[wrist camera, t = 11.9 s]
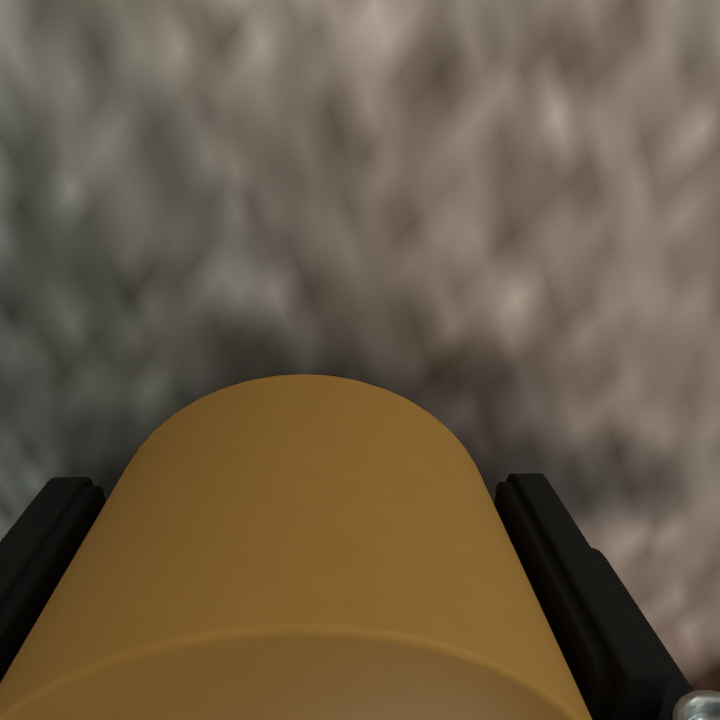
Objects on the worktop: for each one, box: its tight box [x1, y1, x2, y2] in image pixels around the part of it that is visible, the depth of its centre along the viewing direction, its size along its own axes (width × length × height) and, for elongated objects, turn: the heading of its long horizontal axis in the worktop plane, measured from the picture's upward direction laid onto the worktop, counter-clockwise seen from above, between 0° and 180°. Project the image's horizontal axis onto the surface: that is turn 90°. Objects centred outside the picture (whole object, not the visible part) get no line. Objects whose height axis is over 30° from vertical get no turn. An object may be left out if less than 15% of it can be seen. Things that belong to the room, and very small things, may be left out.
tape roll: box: [0, 374, 592, 720], centre depth 8 cm, size 7×7×5 cm
